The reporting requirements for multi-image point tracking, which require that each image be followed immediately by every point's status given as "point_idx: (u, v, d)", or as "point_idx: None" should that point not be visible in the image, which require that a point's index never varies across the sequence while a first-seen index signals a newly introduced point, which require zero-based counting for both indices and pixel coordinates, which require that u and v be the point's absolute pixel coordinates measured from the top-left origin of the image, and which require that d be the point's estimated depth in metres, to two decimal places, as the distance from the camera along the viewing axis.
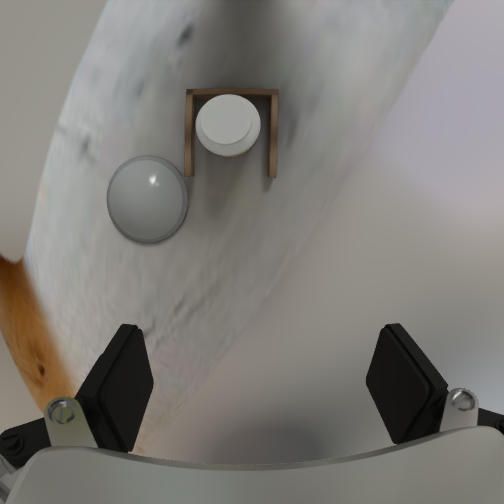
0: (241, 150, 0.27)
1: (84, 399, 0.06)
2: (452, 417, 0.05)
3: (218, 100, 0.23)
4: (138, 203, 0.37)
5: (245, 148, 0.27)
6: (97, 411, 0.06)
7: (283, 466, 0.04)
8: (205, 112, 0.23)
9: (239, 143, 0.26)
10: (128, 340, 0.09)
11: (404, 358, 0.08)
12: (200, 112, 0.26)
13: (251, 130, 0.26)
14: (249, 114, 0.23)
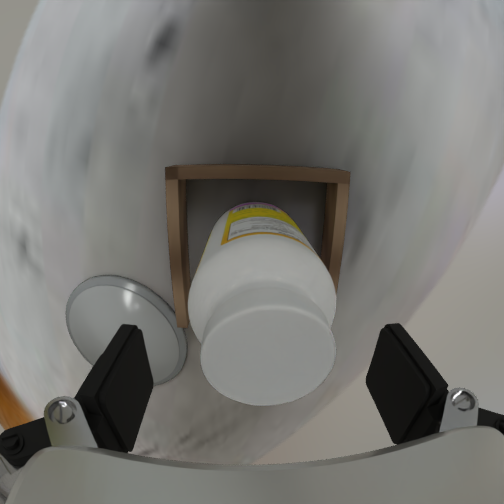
0: None
1: (84, 399, 0.06)
2: (452, 417, 0.05)
3: (247, 320, 0.08)
4: None
5: None
6: (97, 411, 0.06)
7: (283, 466, 0.04)
8: (211, 348, 0.09)
9: None
10: (128, 340, 0.09)
11: (404, 358, 0.08)
12: (196, 291, 0.11)
13: None
14: (331, 351, 0.09)
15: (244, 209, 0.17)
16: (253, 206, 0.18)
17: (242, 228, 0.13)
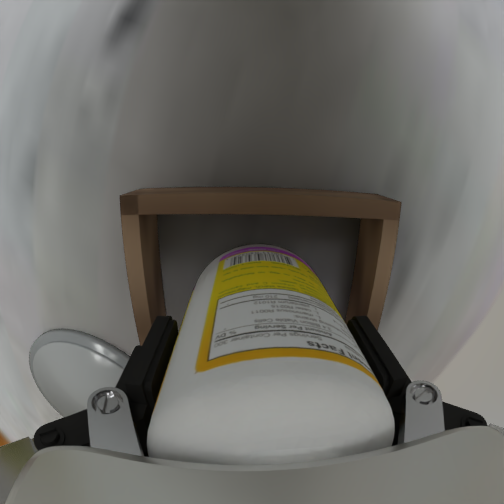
0: None
1: (130, 388, 0.07)
2: (415, 412, 0.06)
3: None
4: (84, 404, 0.16)
5: None
6: (142, 399, 0.07)
7: (283, 466, 0.04)
8: None
9: None
10: (166, 330, 0.09)
11: (366, 349, 0.09)
12: (155, 451, 0.05)
13: None
14: None
15: (241, 263, 0.11)
16: (256, 257, 0.11)
17: (237, 326, 0.07)
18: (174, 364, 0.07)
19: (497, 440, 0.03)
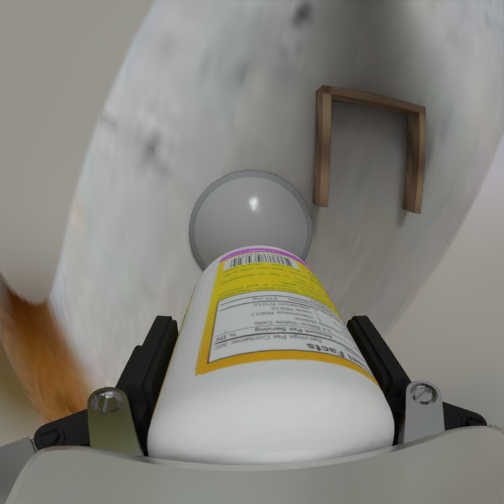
0: None
1: (130, 388, 0.07)
2: (415, 412, 0.06)
3: None
4: (241, 237, 0.28)
5: None
6: (142, 400, 0.07)
7: (283, 466, 0.04)
8: None
9: None
10: (166, 331, 0.09)
11: (366, 349, 0.09)
12: (156, 453, 0.05)
13: None
14: None
15: (241, 265, 0.11)
16: (256, 258, 0.11)
17: (237, 329, 0.07)
18: (174, 366, 0.07)
19: (497, 440, 0.03)
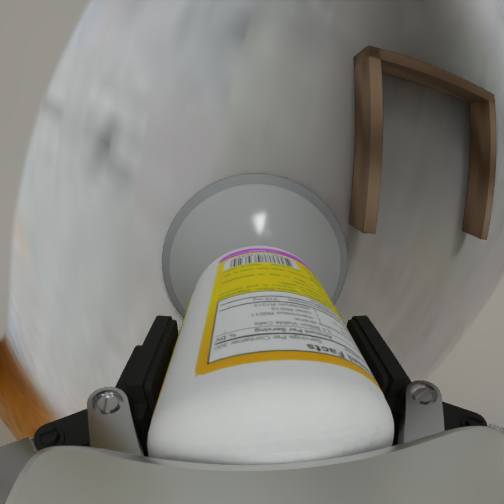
0: None
1: (130, 388, 0.07)
2: (415, 412, 0.06)
3: None
4: None
5: None
6: (142, 399, 0.07)
7: (283, 466, 0.04)
8: None
9: None
10: (166, 330, 0.09)
11: (366, 349, 0.09)
12: (156, 453, 0.05)
13: None
14: None
15: (241, 265, 0.11)
16: (256, 258, 0.11)
17: (237, 329, 0.07)
18: (174, 366, 0.07)
19: (497, 440, 0.03)
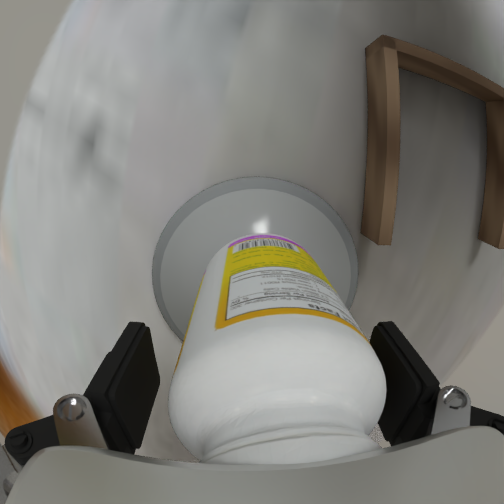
0: None
1: (94, 396, 0.06)
2: (444, 416, 0.05)
3: None
4: None
5: None
6: (107, 408, 0.06)
7: (283, 466, 0.04)
8: None
9: None
10: (136, 338, 0.09)
11: (396, 356, 0.08)
12: (178, 403, 0.06)
13: None
14: None
15: (249, 248, 0.12)
16: (261, 243, 0.13)
17: (249, 294, 0.08)
18: (193, 329, 0.08)
19: (497, 440, 0.03)
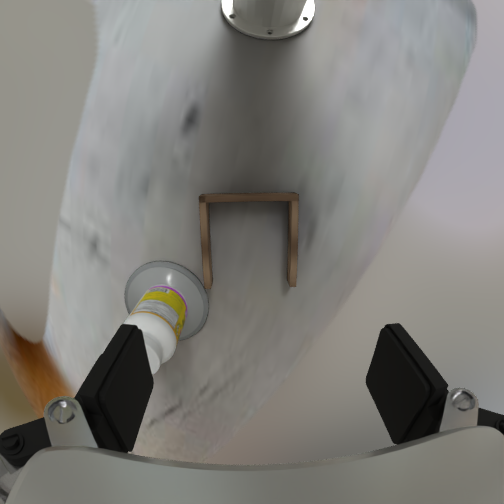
0: None
1: (84, 399, 0.06)
2: (452, 417, 0.05)
3: None
4: None
5: (165, 361, 0.29)
6: (97, 411, 0.06)
7: (283, 466, 0.04)
8: None
9: None
10: (128, 340, 0.09)
11: (404, 358, 0.08)
12: None
13: (166, 352, 0.28)
14: (156, 357, 0.26)
15: (151, 292, 0.34)
16: (156, 289, 0.35)
17: (139, 307, 0.30)
18: None
19: (497, 440, 0.03)
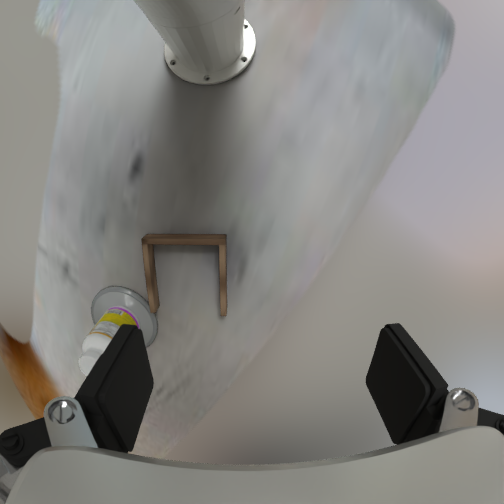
0: None
1: (84, 399, 0.06)
2: (452, 417, 0.05)
3: (84, 358, 0.30)
4: None
5: None
6: (97, 411, 0.06)
7: (283, 466, 0.04)
8: (80, 363, 0.31)
9: None
10: (128, 340, 0.09)
11: (404, 358, 0.08)
12: (82, 347, 0.33)
13: None
14: None
15: (108, 313, 0.39)
16: (112, 311, 0.40)
17: (96, 328, 0.35)
18: None
19: (497, 440, 0.03)
